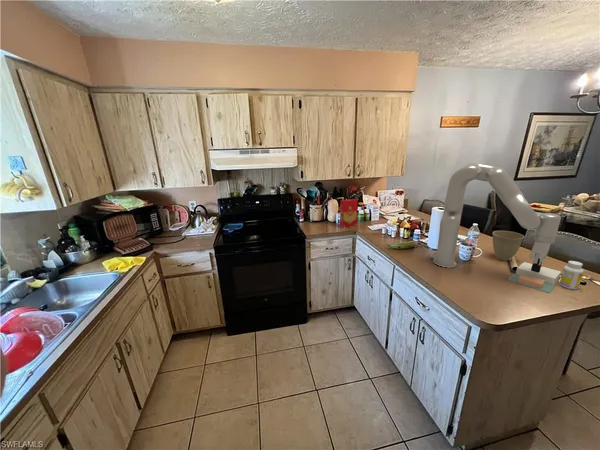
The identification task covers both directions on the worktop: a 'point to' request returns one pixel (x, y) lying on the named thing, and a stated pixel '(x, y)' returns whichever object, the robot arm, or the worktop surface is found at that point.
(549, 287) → the mat
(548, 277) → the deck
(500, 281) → the worktop surface
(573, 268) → the supplement bottle
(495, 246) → the plant pot
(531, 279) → the tile
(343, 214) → the food packaging
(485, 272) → the worktop surface
